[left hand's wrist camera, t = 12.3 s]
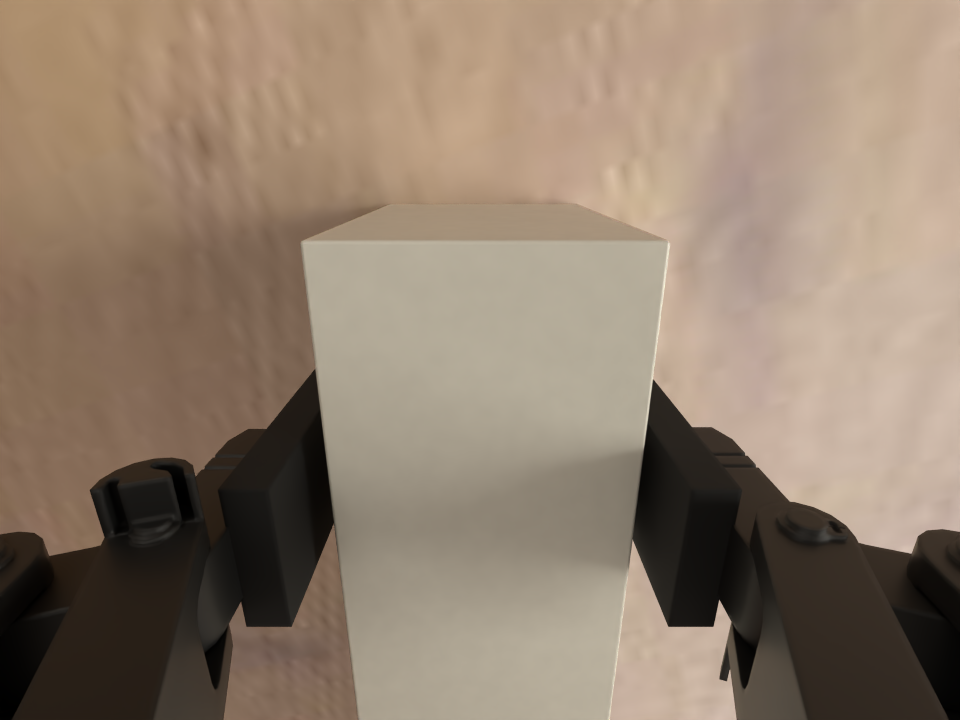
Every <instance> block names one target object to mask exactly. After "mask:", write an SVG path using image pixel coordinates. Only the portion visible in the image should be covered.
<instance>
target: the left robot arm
mask: <svg viewBox="0 0 960 720" xmlns="http://www.w3.org/2000/svg"><path fill="white" fill-rule="evenodd" d="M90 493H91V496H92V499H93V502H94V505H95V508H96V512H97V515H98V518H99V521H100V524H101V527H102V531H103V534H104V537H105V538H104V540H103V542H102V544H101V546H97V547H93V548H88V549H83V550H78V551H73V552H68V553H63V554H58V555H53V556H49V555H48V552H47V549H46V547H45V544H44V541H43V539H42V538H41V537H39V536H38V535H36V534H35V533H28V532H14V533H7V534H1V535H0V720H223V718H224V711H225V703H226V695H227V687H228V680H229V672H230V664H231V656H232V648H233V643H232V636H231V631H230V627H229V622H230V620H231V619H232V617H233V615H234V613H235V611H236V609H237V608H238V606H239V604H240V602H241V603H242V607H243V612H244V617H245V622H246V626H247V627H292V624H293V622H294V619H295V617H296V614H297V612H298V610H299V607H300V605H301V602H302V600H303V597H304V595H305V592H306V590H307V588H308V585H309V583H310V580H311V578H312V575H313V573H314V570H315V568H316V565H317V563H318V561H319V558H320V556H321V553H322V551H323V548H324V546H325V543H326V541H327V539H328V536H329V534H330V531H331V529H332V526H333V524H334V518H333V510H332V501H331V493H330V485H329V477H328V468H327V460H326V452H325V444H324V435H323V427H322V419H321V411H320V402H319V394H318V386H317V377H316V369H315V370H314V371H313V372H312V373H311V375H310V376H309V377H308V378H307V380H306V381H305V382H304V383H303V385H302V386H301V387H300V388H299V390H298V391H297V392H296V393H295V395H294V396H293V397H292V398H291V399H290V401H289V402H288V403H287V404H286V406H285V407H284V408H283V409H282V411H281V412H280V413H279V414H278V416H277V417H276V418H275V419H274V421H273V422H272V423H271V424H270V425H269V427H268V428H267V429H248V430H246V431H244V432H243V433H241V434H239V435H238V436H236V437H234V438H232V439H231V440H229V441H228V442H227V443H226V444H225V445H224V446H223V447H222V448H221V449H220V450H219V452H218V453H217V454H216V455H215V458H212V459H211V460H210V461H209V463H208V464H207V465H206V466H205V469H204V470H201V471H200V472H199V473H198V475H197V476H196V477H195V473H194V469H193V465H191V464H190V463H189V462H187V461H186V460H182V459H176V458H158V459H151V460H146V461H142V462H138V463H134V464H131V465H129V466H126V467H123V468H121V469H118V470H116V471H114V472H112V473H111V474H109V475H107V476H106V477H104V478H102V479H101V480H99V481H98V482H97V483H96V484H95V485H94V486H93V487H92V488H91V489H90ZM633 541H634V543H635V546H636V548H637V551H638V553H639V556H640V558H641V561H642V563H643V566H644V568H645V570H646V573H647V575H648V578H649V580H650V583H651V585H652V588H653V590H654V592H655V595H656V597H657V600H658V602H659V605H660V607H661V610H662V612H663V615H664V617H665V619H666V622H667V624H668V627H713V626H714V621H715V617H716V612H717V607H718V603H719V600H720V601H721V603H722V605H723V607H724V609H725V610H726V612H727V614H728V616H729V618H730V620H731V621H732V622H731V627H730V631H729V635H728V640H727V644H726V648H725V653H724V657H723V662H722V666H721V672H720V680H724V681H727V678H728V674H729V670H731V678H732V686H733V694H734V701H735V709H736V717H737V720H960V532H956V531H950V530H943V529H940V530H928V531H925V532H924V533H922V534H921V535H919V536H918V538H917V541H916V544H915V546H914V549H913V552H912V554H909V553H904V552H899V551H894V550H889V549H884V548H879V547H874V546H869V545H865V544H861V543H858V541H857V539H856V537H855V536H854V535H853V533H852V532H851V531H850V530H849V529H848V527H847V526H846V525H844V524H843V523H842V522H840V521H839V520H837V519H836V518H834V517H833V516H832V515H830V514H827V513H825V512H823V511H821V510H818V509H816V508H814V507H811V506H807V505H803V504H799V503H796V502H789V500H788V499H787V498H786V497H785V496H784V495H783V494H782V493H781V492H780V491H779V490H778V489H777V487H776V486H775V485H774V484H773V483H772V482H771V481H770V480H769V479H768V478H767V477H766V475H765V474H764V473H763V472H762V471H761V470H760V469H759V468H756V465H755V463H754V462H753V461H752V460H751V459H750V458H749V457H748V456H745V453H744V452H743V450H742V449H741V448H740V447H739V446H738V445H737V444H736V443H735V442H734V441H733V440H732V439H731V438H729V437H727V436H726V435H724V434H722V433H721V432H719V431H717V430H715V429H714V428H712V427H691V425H690V424H689V423H688V422H687V421H686V419H685V418H684V417H683V416H682V414H681V413H680V412H679V411H678V409H677V408H676V407H675V406H674V404H673V403H672V402H671V401H670V399H669V398H668V397H667V396H666V395H665V393H664V392H663V391H662V390H661V388H660V387H659V386H658V385H657V383H656V382H655V381H654V380H653V382H652V390H651V398H650V405H649V413H648V421H647V429H646V437H645V445H644V453H643V460H642V468H641V476H640V484H639V492H638V500H637V508H636V515H635V523H634V531H633Z"/></svg>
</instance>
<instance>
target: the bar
mask: <svg viewBox="0 0 960 720" xmlns="http://www.w3.org/2000/svg"><path fill="white" fill-rule="evenodd" d="M300 245H301V254H302V262H303V270H304V278H305V287H306V295H307V303H308V311H309V320H310V328H311V336H312V344H313V353H314V361H315V369H316V377H317V386H318V394H319V402H320V411H321V419H322V427H323V435H324V444H325V452H326V460H327V468H328V477H329V485H330V493H331V501H332V510H333V518H334V526H335V534H336V543H337V551H338V559H339V567H340V576H341V584H342V592H343V600H344V609H345V617H346V625H347V634H348V642H349V650H350V658H351V667H352V675H353V683H354V691H355V700H356V708H357V716H358V720H610V712H611V704H612V696H613V688H614V680H615V672H616V665H617V657H618V649H619V641H620V633H621V625H622V617H623V610H624V602H625V594H626V586H627V578H628V570H629V562H630V555H631V547H632V539H633V531H634V523H635V515H636V508H637V500H638V492H639V484H640V476H641V468H642V460H643V453H644V445H645V437H646V429H647V421H648V413H649V405H650V398H651V390H652V382H653V374H654V366H655V358H656V350H657V343H658V335H659V327H660V319H661V311H662V303H663V296H664V288H665V280H666V272H667V264H668V256H669V248H670V243H669V241H668V240H665V239H663V238H660V237H658V236H655V235H653V234H650V233H648V232H645V231H643V230H640V229H638V228H635V227H633V226H630V225H628V224H625V223H623V222H620V221H618V220H615V219H613V218H610V217H608V216H605V215H603V214H600V213H598V212H595V211H593V210H590V209H588V208H585V207H583V206H580V205H578V204H389V205H387V206H384V207H382V208H379V209H377V210H375V211H372V212H370V213H367V214H365V215H363V216H360V217H358V218H355V219H353V220H351V221H348V222H346V223H344V224H341V225H339V226H336V227H334V228H332V229H329V230H327V231H324V232H322V233H320V234H317V235H315V236H312V237H310V238H308V239H305V240H303V241H301V244H300Z"/></svg>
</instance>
